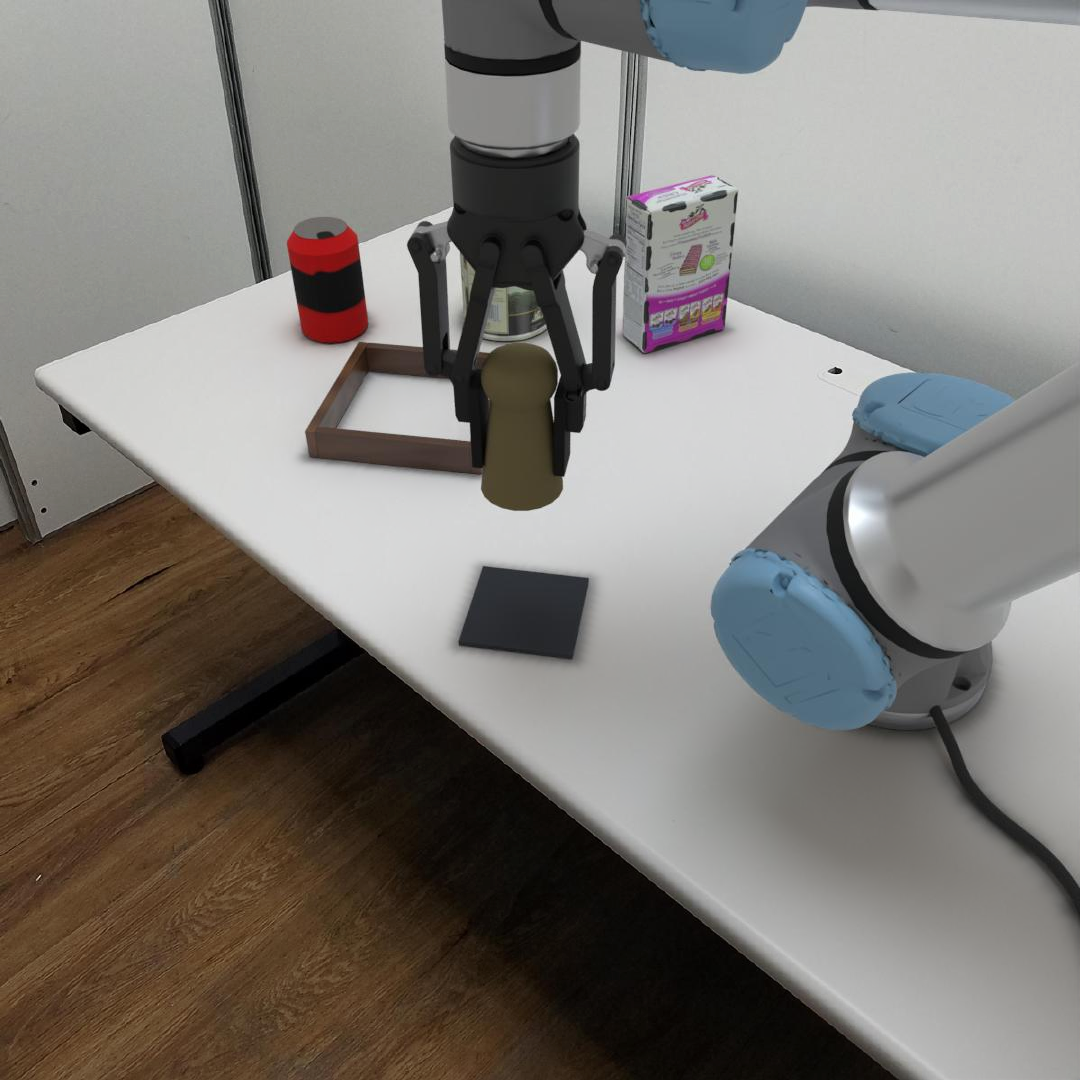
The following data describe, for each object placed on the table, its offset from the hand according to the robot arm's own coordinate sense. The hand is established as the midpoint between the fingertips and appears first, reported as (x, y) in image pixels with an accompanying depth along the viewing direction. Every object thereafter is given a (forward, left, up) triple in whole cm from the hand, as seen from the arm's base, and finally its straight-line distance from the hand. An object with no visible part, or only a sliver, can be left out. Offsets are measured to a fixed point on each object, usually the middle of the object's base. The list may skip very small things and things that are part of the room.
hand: (521, 460), depth 76 cm
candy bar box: (+47, -8, -15) cm, 50 cm away
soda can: (+42, +30, -15) cm, 54 cm away
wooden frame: (+26, +16, -15) cm, 34 cm away
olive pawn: (0, 0, -2) cm, 2 cm away
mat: (0, 0, -15) cm, 15 cm away
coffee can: (+47, +11, -15) cm, 51 cm away
